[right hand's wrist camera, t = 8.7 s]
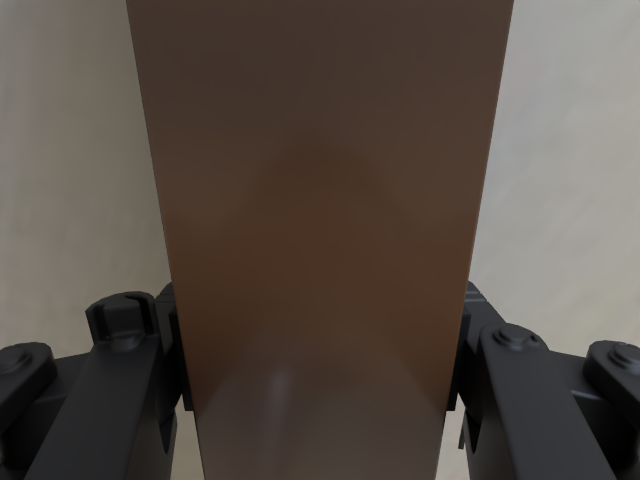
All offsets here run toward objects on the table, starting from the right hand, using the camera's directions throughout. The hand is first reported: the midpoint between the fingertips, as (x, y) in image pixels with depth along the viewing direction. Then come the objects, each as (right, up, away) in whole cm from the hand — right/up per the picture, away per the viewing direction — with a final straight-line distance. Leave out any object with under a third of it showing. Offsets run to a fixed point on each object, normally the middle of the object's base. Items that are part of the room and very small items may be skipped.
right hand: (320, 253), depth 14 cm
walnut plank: (0, +10, -4) cm, 11 cm away
